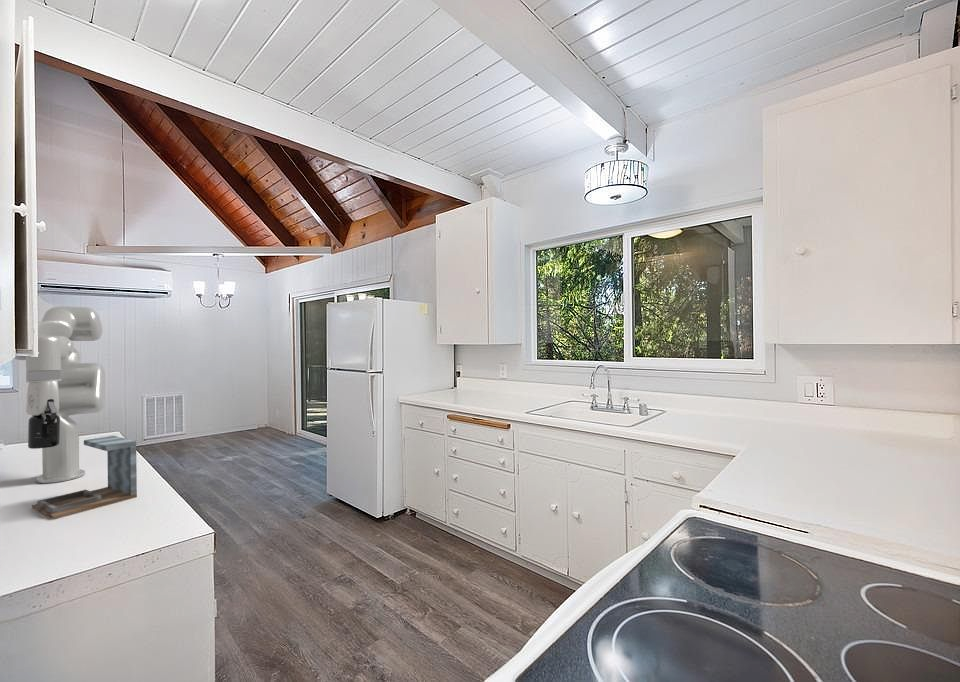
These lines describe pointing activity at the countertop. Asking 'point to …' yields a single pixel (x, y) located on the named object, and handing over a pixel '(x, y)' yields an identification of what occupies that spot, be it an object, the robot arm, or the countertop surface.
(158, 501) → the countertop surface
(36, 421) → the supplement bottle
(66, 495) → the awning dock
